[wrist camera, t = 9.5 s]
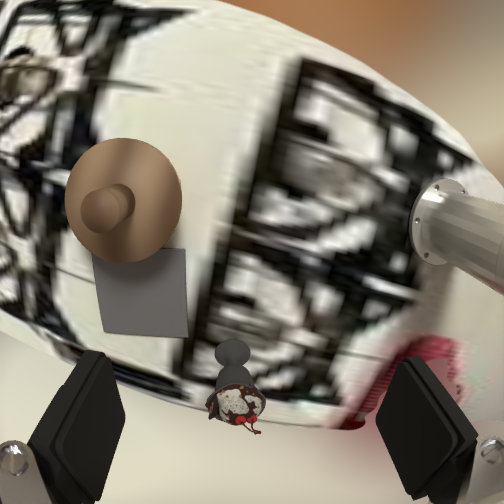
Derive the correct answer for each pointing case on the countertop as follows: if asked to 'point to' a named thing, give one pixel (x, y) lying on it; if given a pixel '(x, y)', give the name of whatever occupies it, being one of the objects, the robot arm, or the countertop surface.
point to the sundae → (235, 388)
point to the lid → (123, 200)
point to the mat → (143, 294)
